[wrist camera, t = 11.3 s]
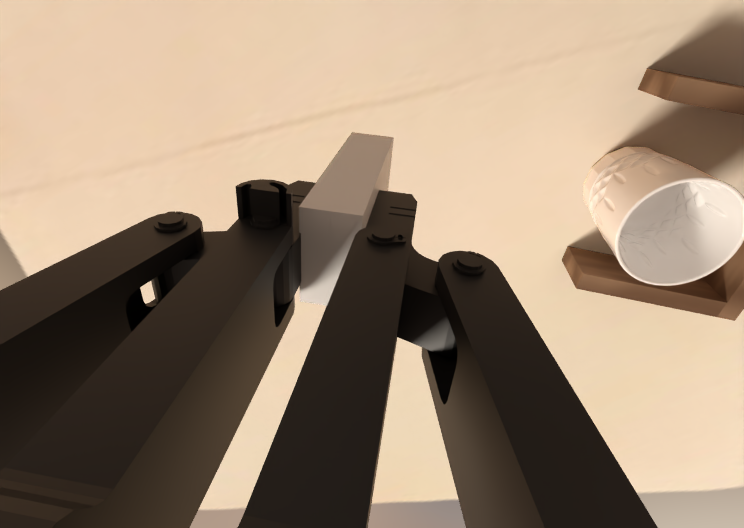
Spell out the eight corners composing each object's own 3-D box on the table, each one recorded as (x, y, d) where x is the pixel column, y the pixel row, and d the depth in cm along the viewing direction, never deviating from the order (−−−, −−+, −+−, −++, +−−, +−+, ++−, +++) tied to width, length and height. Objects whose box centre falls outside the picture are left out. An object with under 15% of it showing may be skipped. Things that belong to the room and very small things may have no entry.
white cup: (667, 121, 35) (743, 157, 26) (682, 207, 38) (755, 264, 29) (564, 161, 37) (603, 206, 28) (587, 238, 40) (628, 299, 32)
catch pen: (647, 68, 33) (678, 76, 29) (828, 102, 32) (887, 115, 28) (561, 259, 42) (576, 288, 37) (703, 288, 41) (734, 320, 37)
